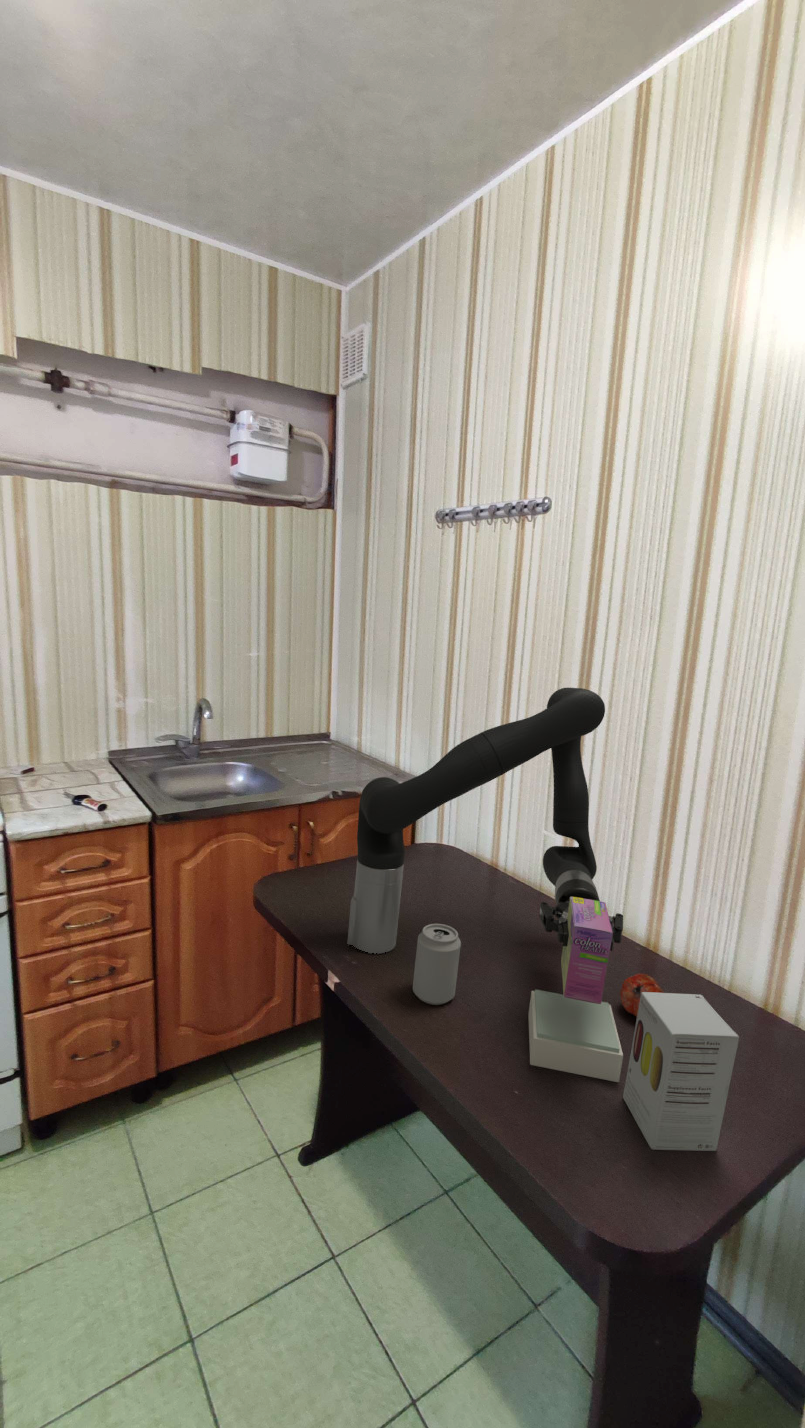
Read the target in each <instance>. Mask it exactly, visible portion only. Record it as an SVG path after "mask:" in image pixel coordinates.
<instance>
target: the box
mask: <svg viewBox="0 0 805 1428" xmlns="http://www.w3.org/2000/svg"><path fill="white" fill-rule="evenodd" d="M608 912H609V911H608V907H607V904H606V902H604V901H601V900H600V901H596V900H590V899H584V898H578V897H570V901H569V908H568V916H567V923H566V924H567V926H568V932H569V938H568V945H567V946H563V945H562V952H561V960H560V963H561V964H560V965H561V975H562V976H561V977H562V993H563V996H564V997H566V998H571V999H575V1000H580V1001H585V1002H591V1003H596V1004H601V1002H603V995H604V988H605V982H606V976H607V971H608V970H607V969H608V964H609V957H610V952H611V951H610V947H611V941H612V935H613V932H612V928H611V924H610V920H609V916H610V915H609V913H608Z"/></svg>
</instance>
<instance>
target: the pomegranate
mask: <svg viewBox="0 0 805 1428" xmlns="http://www.w3.org/2000/svg"><path fill="white" fill-rule="evenodd" d="M642 992H655V993H665V992H664V990H663V989H662V988H661V987H660V985H659V983H658V982H657V980H656V979H655V978H654V977H652V976H651V975H649V974H644V973H637V974H635V975H632V976H628V977H627V978H625V980H624V981H623V983H622V985H621V989H620V991H619V995H620V1003H621V1004H622V1006H623V1008H624V1009H625V1010H626V1011H627V1013H629V1014H631V1015H634V1016H635V1017H636V1018H637V1014H638V1008H639V1002H640V996H641V993H642Z"/></svg>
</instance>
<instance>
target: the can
mask: <svg viewBox="0 0 805 1428" xmlns="http://www.w3.org/2000/svg"><path fill="white" fill-rule="evenodd" d="M421 930H422V931H421V933H419V934H418V937H417V943H416V953H415V964H414V973H413V982H412V991H413V993H414V994H415V996H416V997H417V998H418V999H419V1000H420V1001H421V1002H423V1003H426V1004H428V1005H433V1006H439V1005H444V1004H446V1003H448V1002H450V1001H451V1000H453V999H454V998H455V995H456V988H457V979H458V971H459V963H460V954H461V952H460V951H461V945H462V941H461V939H460V938H459V933H458V931H457V930H456V929H455V928H453V927H452V926H451V925H447V924H444V923H443V924H442V923H429V924H428V925H425V926H424V927H423V928H422V929H421Z"/></svg>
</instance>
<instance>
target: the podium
mask: <svg viewBox="0 0 805 1428" xmlns="http://www.w3.org/2000/svg"><path fill="white" fill-rule="evenodd" d="M527 1015H528V1016H527V1017H528V1039H529V1040H528V1042H529V1043H528V1044H529V1045H528V1046H529V1064H530V1066H534V1067H539V1068H546V1069H550V1070H555V1071H560V1072H564V1073H569V1074H570V1073H571V1074H575V1075H580V1076H586V1077H590V1078H594V1079H600V1080H606V1081H609V1082H614V1083H619V1082H620V1078H621V1071H622V1065H623V1061H624V1060H623V1059H624V1053H623V1050H622V1045H621V1042H620V1038H619V1037H620V1036H619V1034H618V1030H617V1025H616V1021H615V1018H614V1017H615V1016H614V1012H613V1009H612V1005H611V1004H609V1002H605V1001H601V1004H596V1003H591V1002H585V1001H580V1000H575V999H571V998H566V997H564V996H563V994H562V993H557V992H551V991H545V990H541V989H534V990H531V993H530V1001H529V1007H528V1014H527Z"/></svg>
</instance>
